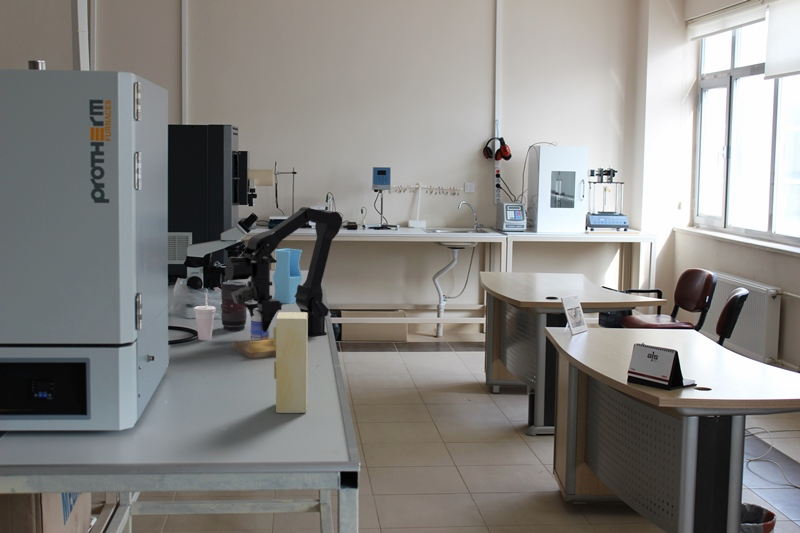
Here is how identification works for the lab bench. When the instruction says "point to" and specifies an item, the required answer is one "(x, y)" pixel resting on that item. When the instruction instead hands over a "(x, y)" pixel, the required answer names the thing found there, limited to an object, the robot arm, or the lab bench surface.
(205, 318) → the smoothie
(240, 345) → the shelf board
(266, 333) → the pill bottle
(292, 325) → the toy refrigerator
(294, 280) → the vase
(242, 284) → the camera lens
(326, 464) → the lab bench surface
